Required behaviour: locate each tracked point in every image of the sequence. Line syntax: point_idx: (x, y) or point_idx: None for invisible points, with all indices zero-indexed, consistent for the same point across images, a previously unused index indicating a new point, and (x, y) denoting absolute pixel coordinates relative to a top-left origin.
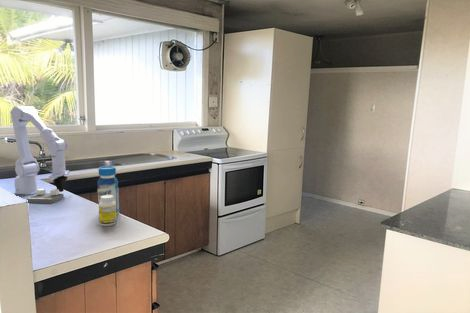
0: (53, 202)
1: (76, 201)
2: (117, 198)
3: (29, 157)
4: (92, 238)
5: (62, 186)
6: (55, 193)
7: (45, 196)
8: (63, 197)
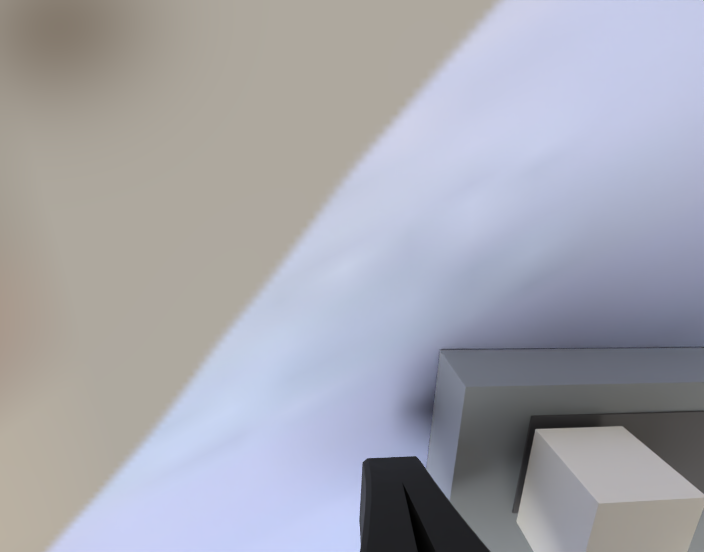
0: (694, 348)
1: (685, 4)
2: None
3: None
4: None
5: (467, 547)
6: (642, 463)
7: None
8: (447, 352)
